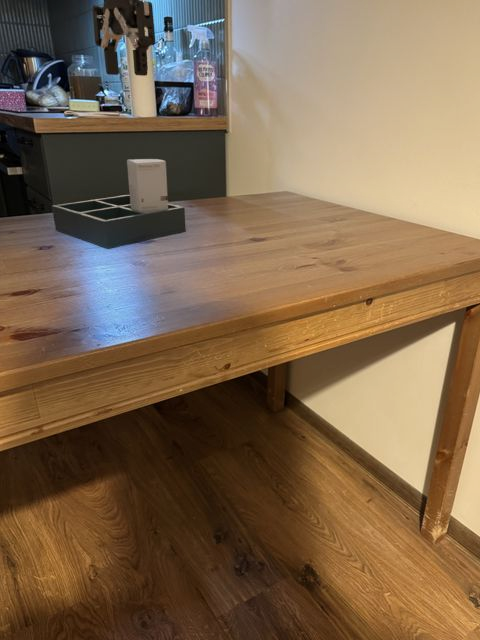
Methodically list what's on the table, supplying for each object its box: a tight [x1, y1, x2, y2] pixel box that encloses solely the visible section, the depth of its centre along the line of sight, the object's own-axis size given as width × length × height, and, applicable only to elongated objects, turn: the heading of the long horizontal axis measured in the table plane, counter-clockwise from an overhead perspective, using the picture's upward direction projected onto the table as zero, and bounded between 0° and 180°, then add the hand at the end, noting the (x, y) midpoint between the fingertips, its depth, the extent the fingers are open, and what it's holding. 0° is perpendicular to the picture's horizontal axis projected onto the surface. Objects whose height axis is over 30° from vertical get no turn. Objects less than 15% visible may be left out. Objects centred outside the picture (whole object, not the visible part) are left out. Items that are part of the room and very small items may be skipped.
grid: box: [51, 194, 187, 249], centre depth 94 cm, size 17×17×5 cm
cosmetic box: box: [126, 158, 169, 213], centre depth 93 cm, size 6×4×12 cm
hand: (126, 75), depth 87 cm, fingers open, 8 cm apart
